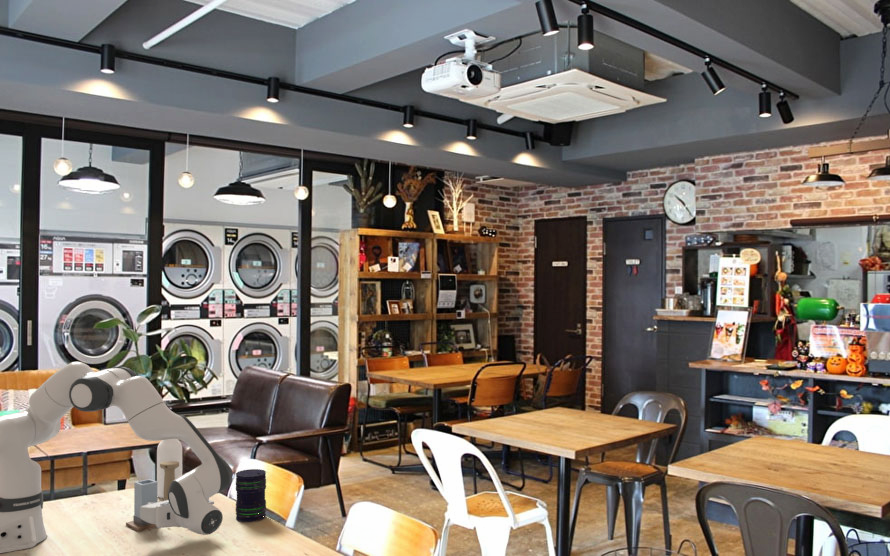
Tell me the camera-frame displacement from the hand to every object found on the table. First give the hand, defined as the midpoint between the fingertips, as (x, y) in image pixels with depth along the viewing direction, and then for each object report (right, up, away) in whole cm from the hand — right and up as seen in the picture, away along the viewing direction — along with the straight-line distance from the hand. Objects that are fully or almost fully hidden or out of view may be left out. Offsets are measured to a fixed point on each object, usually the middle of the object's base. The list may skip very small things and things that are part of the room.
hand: (163, 501), depth 230 cm
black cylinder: (+23, -10, +16) cm, 30 cm away
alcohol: (-14, -11, +42) cm, 46 cm away
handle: (-9, -11, +30) cm, 33 cm away
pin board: (-6, -10, +11) cm, 16 cm away
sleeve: (-9, -9, +8) cm, 15 cm away
